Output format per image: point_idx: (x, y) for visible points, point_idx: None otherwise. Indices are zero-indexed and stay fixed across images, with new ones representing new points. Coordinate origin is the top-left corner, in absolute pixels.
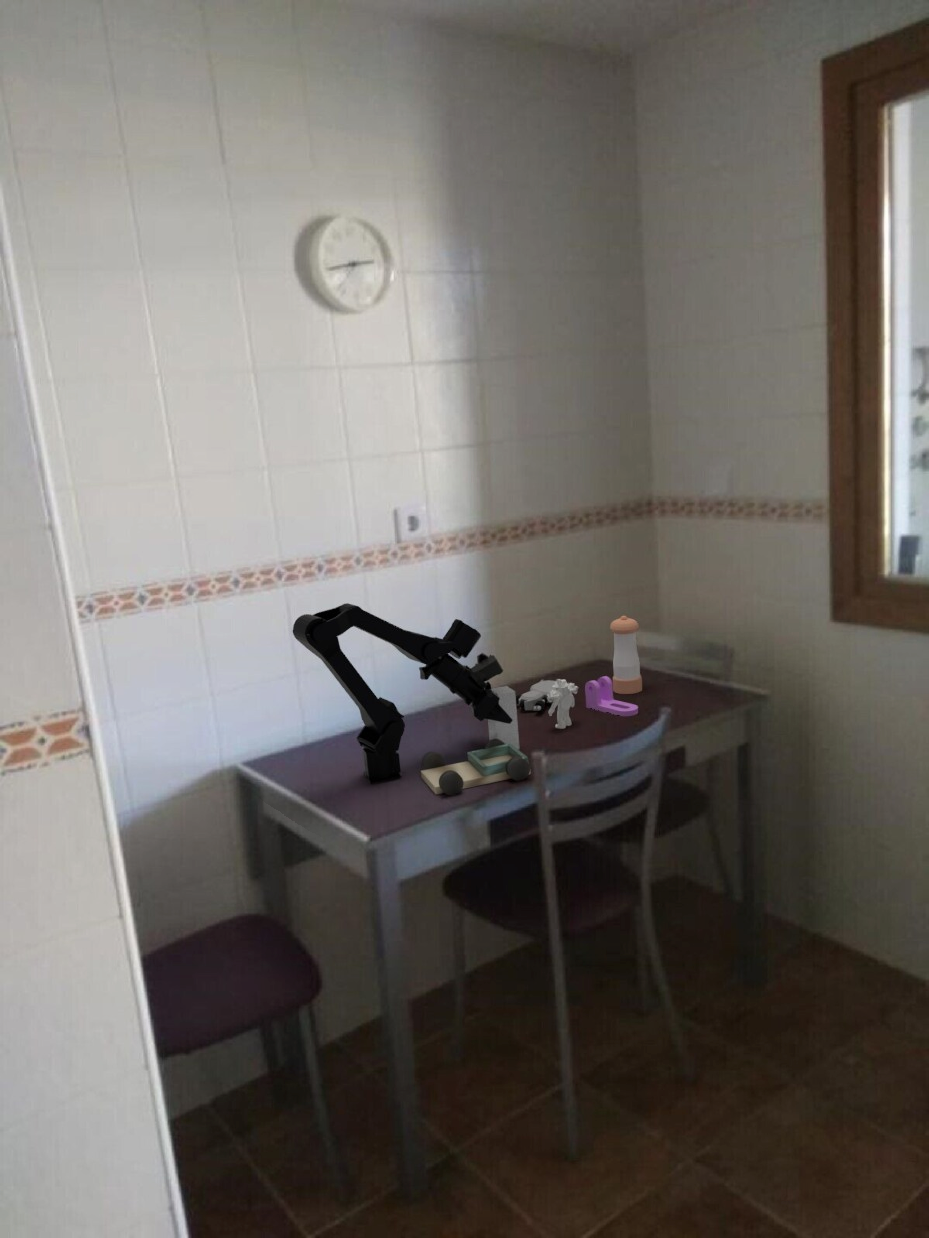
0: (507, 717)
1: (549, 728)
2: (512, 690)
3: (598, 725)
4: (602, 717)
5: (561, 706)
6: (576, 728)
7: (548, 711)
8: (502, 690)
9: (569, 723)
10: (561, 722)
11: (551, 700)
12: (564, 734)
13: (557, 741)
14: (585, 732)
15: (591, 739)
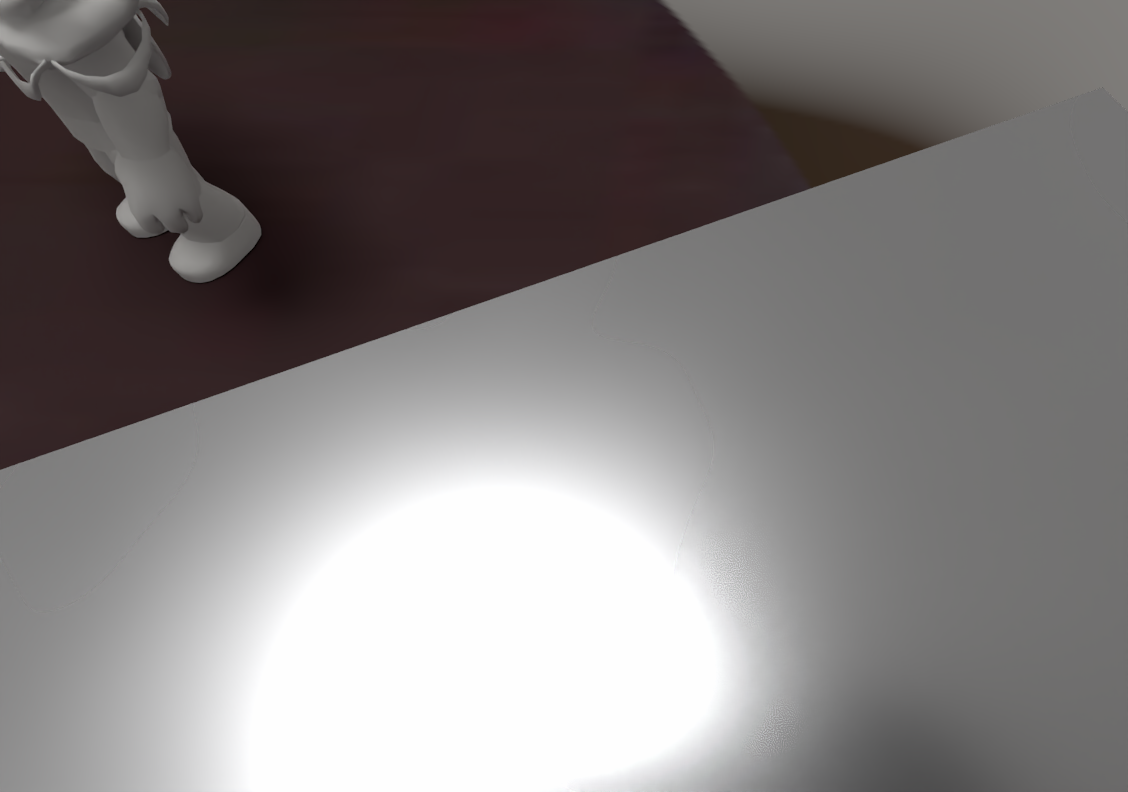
0: None
1: (207, 328)
2: (915, 194)
3: (288, 27)
4: None
5: (165, 62)
6: (294, 146)
7: (141, 214)
8: (861, 774)
9: (199, 174)
10: (225, 202)
11: (146, 49)
12: (402, 222)
13: (558, 272)
14: (405, 96)
15: (566, 66)
